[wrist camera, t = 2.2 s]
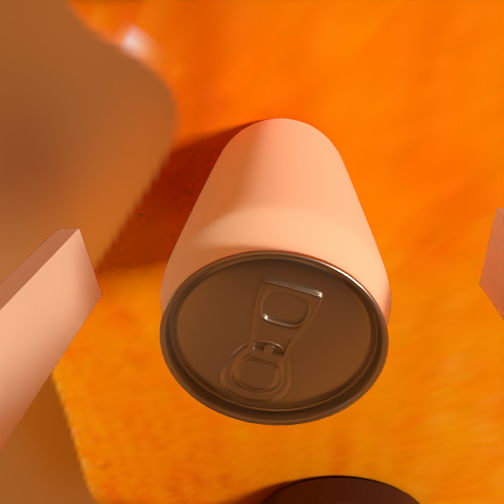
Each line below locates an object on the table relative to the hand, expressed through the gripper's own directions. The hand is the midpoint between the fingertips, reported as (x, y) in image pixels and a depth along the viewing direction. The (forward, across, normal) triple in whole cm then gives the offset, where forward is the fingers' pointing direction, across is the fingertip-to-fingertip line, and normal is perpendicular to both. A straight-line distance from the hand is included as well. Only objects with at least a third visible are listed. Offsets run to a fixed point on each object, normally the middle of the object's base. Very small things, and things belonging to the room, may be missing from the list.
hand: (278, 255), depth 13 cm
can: (+8, 0, 0) cm, 8 cm away
